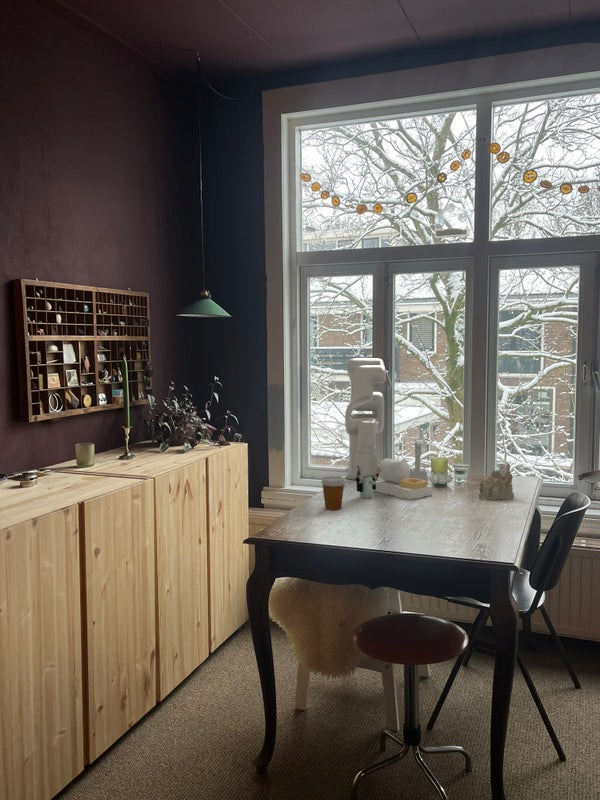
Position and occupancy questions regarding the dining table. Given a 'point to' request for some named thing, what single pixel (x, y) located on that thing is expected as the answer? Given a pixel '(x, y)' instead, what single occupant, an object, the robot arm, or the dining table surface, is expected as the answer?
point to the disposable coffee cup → (333, 492)
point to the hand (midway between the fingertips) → (366, 490)
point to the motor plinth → (400, 480)
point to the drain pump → (367, 487)
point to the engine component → (418, 465)
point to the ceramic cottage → (497, 485)
